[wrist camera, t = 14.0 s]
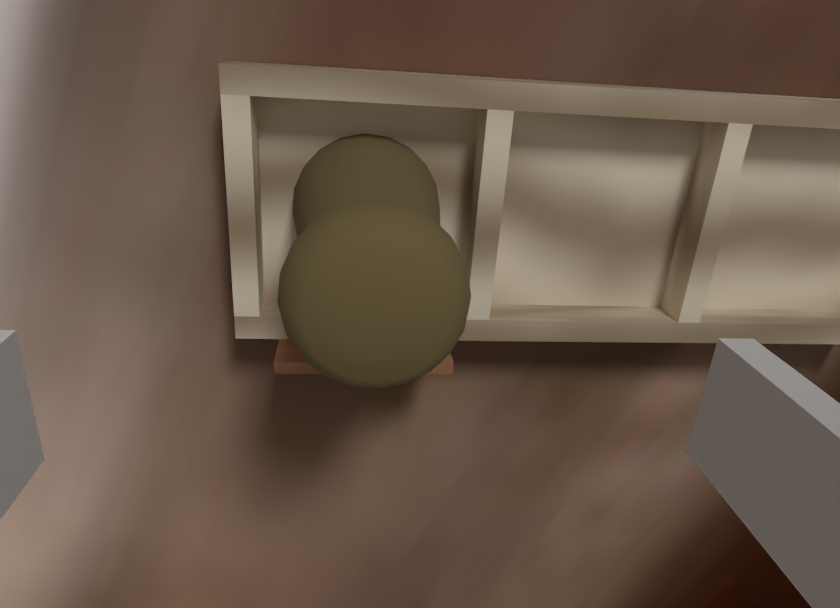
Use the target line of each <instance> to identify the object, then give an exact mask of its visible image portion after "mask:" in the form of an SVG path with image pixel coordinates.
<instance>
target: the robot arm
mask: <svg viewBox="0 0 840 608" xmlns="http://www.w3.org/2000/svg"><path fill="white" fill-rule="evenodd" d="M686 452H687V454H688V455H689V456H690V457H691V458H692V460H693V461H694V462H695V463H696V465H697V466H698V467H699V468H700V470H701V471H702V472H703V473H704V475H705V476H706V477H707V478H708V480H709V481H710V482H711V483H712V485H713V486H714V487H715V488H716V489H717V491H718V492H719V493H720V494H721V496H722V497H723V498H724V499H725V501H726V502H727V503H728V504H729V506H730V507H731V508H732V509H733V511H734V512H735V513H736V514H737V516H738V517H739V518H740V519H741V521H742V522H743V523H744V524H745V525H746V527H747V528H748V529H749V530H750V532H751V533H752V534H753V535H754V537H755V538H756V539H757V540H758V542H759V543H760V544H761V545H762V547H763V548H764V549H765V550H766V552H767V553H768V554H769V555H770V556H771V558H772V559H773V560H774V561H775V563H776V564H777V565H778V566H779V568H780V569H781V570H782V571H783V573H784V574H785V575H786V576H787V578H788V579H789V580H790V581H791V583H792V584H793V585H794V586H795V588H796V589H797V590H798V591H799V592H800V594H801V595H802V596H803V597H804V599H805V600H806V601H807V602H808V604H809V605H810V606H811V607H812V608H840V403H839V402H837V401H836V400H835V399H833V398H832V397H831V396H829V395H828V394H827V393H825V392H824V391H823V390H821V389H820V388H819V387H817V386H816V385H815V384H813V383H812V382H811V381H809V380H808V379H807V378H805V377H804V376H803V375H801V374H800V373H799V372H797V371H796V370H795V369H793V368H792V367H791V366H789V365H788V364H787V363H785V362H784V361H783V360H781V359H780V358H779V357H777V356H776V355H775V354H773V353H772V352H771V351H769V350H768V349H767V348H765V347H764V346H763V345H761V344H760V343H759V342H757V341H756V340H755V339H738V338H718V340H717V344H716V347H715V351H714V354H713V358H712V361H711V365H710V368H709V372H708V375H707V379H706V382H705V386H704V389H703V393H702V396H701V400H700V403H699V407H698V410H697V414H696V417H695V421H694V424H693V427H692V431H691V434H690V438H689V441H688V445H687V448H686ZM43 460H44V455H43V451H42V446H41V441H40V437H39V432H38V428H37V423H36V419H35V414H34V410H33V405H32V401H31V396H30V392H29V387H28V382H27V378H26V373H25V369H24V364H23V360H22V355H21V351H20V346H19V342H18V337H17V333H16V330H0V519H1V518H2V517H3V515H4V514H5V513H6V511H7V510H8V508H9V507H10V506H11V504H12V503H13V502H14V500H15V499H16V497H17V496H18V495H19V493H20V492H21V491H22V489H23V488H24V486H25V485H26V484H27V482H28V481H29V480H30V478H31V477H32V475H33V474H34V473H35V471H36V470H37V468H38V467H39V466H40V464H41V463H42V462H43Z"/></svg>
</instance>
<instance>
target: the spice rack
mask: <svg viewBox="0 0 840 608" xmlns="http://www.w3.org/2000/svg"><path fill="white" fill-rule="evenodd" d="M218 65H219V81H220V97H221V113H222V129H223V145H224V161H225V177H226V194H227V210H228V226H229V242H230V258H231V274H232V290H233V306H234V322H235V338H236V339H279V342H278V346H277V350H276V355H275V359H274V374H321V373H320V372H318V371H317V370H316V369H314V368H313V367H312V366H311V365H309V364H308V363H307V362H305V361H304V360H303V359H302V358H301V356H300V355H299V353H298V352H297V350H296V349H295V347H294V346H293V344H292V343H291V341H290V340H289V339H288V337H287V334H286V332H285V328H284V325H283V321H282V317H281V314H280V310H279V306H278V303H277V302H278V289H279V277H280V272H281V269H282V266H283V264H284V262H285V259H286V257H287V255H288V253H289V251H290V248H291V246H292V244H293V242H294V240H295V239H296V238H297V234H296V228H295V222H294V217H293V211H292V210H293V198H294V187H295V185H296V183H297V181H298V178H299V176H300V174H301V172H302V169H303V167H304V166H305V164H306V163H307V162H308V161H309V160H310V159H311V158H312V157H313V156H314V155H315V154H316V153H317V151H318V150H319V149H321V148H322V147H324V146H326V145H328V144H330V143H332V142H334V141H335V140H337V139H339V138H341V137H347V136H353V135H359V134H364V133H365V134H372V135H378V136H385V137H389V138H391V139H393V140H395V141H397V142H399V143H401V144H403V145H405V146H407V147H409V148H411V150H412V151H413V152H414V153H415V154H416V155H417V156H418V157H419V158H420V159H421V160H422V161H423V162H424V163H425V164H426V165H427V167H428V169H429V171H430V173H431V175H432V177H433V179H434V181H435V183H436V185H437V191H438V198H439V206H440V226H441V227H442V228H443V229H444V230H445V231H446V232H447V233H448V234H449V235H450V236H451V237H452V239H453V241H454V242H455V244H456V246H457V248H458V250H459V252H460V254H461V256H462V258H463V260H464V262H465V264H466V266H467V268H468V275H469V283H470V291H471V300H470V306H469V310H468V315H467V320H466V325H465V329H464V331H463V333H462V335H461V337H460V338H459V340H458V341H539V342H643V343H717V340H718V338H738V339H755V340H756V341H757V342H759V343H760V344H840V99H828V98H812V97H796V96H781V95H765V94H749V93H733V92H717V91H701V90H685V89H670V88H654V87H638V86H622V85H606V84H590V83H574V82H559V81H543V80H527V79H511V78H495V77H479V76H463V75H448V74H432V73H416V72H400V71H384V70H368V69H353V68H337V67H321V66H305V65H289V64H273V63H257V62H242V61H228V62H223V63H218ZM453 368H454V362H453V359H452V356H451V353H450V354H449V355H448V356H447V357H446V358H445V359H444V360H443V361H442V362H441V363H439V364H438V365H437V366H436V367H435V368H434V369H433V370H432V371H431V372H429V373H427V374H453Z"/></svg>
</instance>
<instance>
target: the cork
mask: <svg viewBox="0 0 840 608" xmlns="http://www.w3.org/2000/svg"><path fill="white" fill-rule="evenodd" d="M292 211H293V217H294V222H295V228H296V234H297V238H296V239H295V240H294V242H293V244H292V246H291V248H290V251H289V253H288V255H287V257H286V259H285V262H284V264H283V266H282V269H281V272H280V277H279V289H278V302H277V303H278V306H279V310H280V314H281V317H282V321H283V325H284V328H285V332H286V334H287V337H288V339H289V340H290V341H291V343H292V344H293V346H294V347H295V349H296V350H297V352H298V353H299V355H300V356H301V358H302V359H303V360H304V361H305V362H307V363H308V364H309V365H311V366H312V367H313V368H314V369H316V370H317V371H318V372H320V373H321V374H322V375H323V376H325V377H328V378H330V379H333V380H335V381H338V382H341V383H343V384H346V385H349V386H352V387H362V388H374V389H381V388H387V387H392V386H398V385H403V384H406V383H408V382H410V381H412V380H414V379H416V378H418V377H420V376H422V375H425V374H427V373H429V372H431V371H432V370H433V369H434V368H435V367H436V366H437V365H438V364H439V363H441V362H442V361H443V360H444V359H445V358H446V357H447V356H448V355H449V354H450V353H451V352H452V350H453V349H454V347H455V345H456V343H457V342H458V340H459V338H460V337H461V335H462V333H463V331H464V329H465V325H466V320H467V315H468V310H469V306H470V300H471V291H470V283H469V275H468V268H467V266H466V264H465V262H464V260H463V258H462V256H461V254H460V252H459V250H458V248H457V246H456V244H455V242H454V241H453V239H452V237H451V236H450V235H449V234H448V233H447V232H446V231H445V230H444V229H443V228H442V227H441V226H440V206H439V198H438V191H437V185H436V183H435V181H434V179H433V177H432V175H431V173H430V171H429V169H428V167H427V165H426V164H425V163H424V162H423V161H422V160H421V159H420V158H419V157H418V156H417V155H416V154H415V153H414V152H413V151H412V150H411V148H409V147H407V146H405V145H403V144H401V143H399V142H397V141H395V140H393V139H391V138H389V137H385V136H378V135H372V134H365V133H364V134H359V135H353V136H347V137H341V138H339V139H337V140H335V141H334V142H332V143H330V144H328V145H326V146H324V147H322V148H321V149H319V150H318V151H317V153H316V154H315V155H314V156H313V157H312V158H311V159H310V160H309V161H308V162H307V163H306V164H305V166H304V167H303V169H302V172H301V174H300V176H299V178H298V181H297V183H296V185H295V187H294V198H293V210H292Z"/></svg>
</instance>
